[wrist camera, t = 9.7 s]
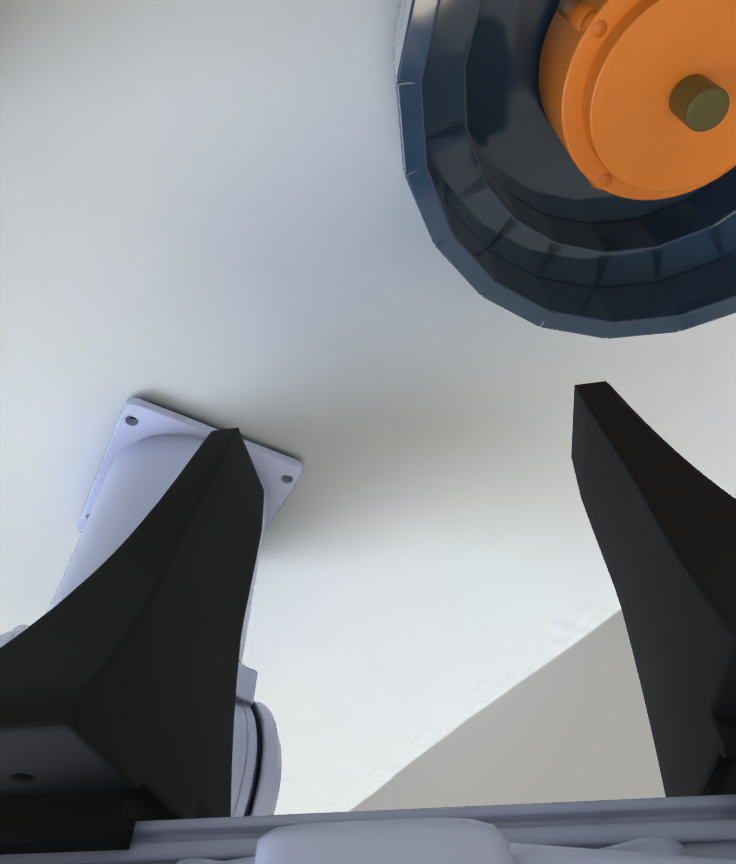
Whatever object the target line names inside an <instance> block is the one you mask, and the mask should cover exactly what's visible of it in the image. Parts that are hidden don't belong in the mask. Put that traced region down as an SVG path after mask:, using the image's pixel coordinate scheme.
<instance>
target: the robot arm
mask: <svg viewBox="0 0 736 864" xmlns="http://www.w3.org/2000/svg"><path fill="white" fill-rule="evenodd" d="M129 416H133V417H135V418H137V420H135V419H132V418H130V417H129ZM571 456H572V461H573V465H574V470H575V474H576V478H577V482H578V487H579V491H580V495H581V499H582V501H583V504H584V507H585V510H586V512H587V515H588V518H589V520H590V523H591V526H592V529H593V531H594V534H595V537H596V539H597V542H598V544H599V547H600V550H601V552H602V555H603V558H604V560H605V563H606V566H607V568H608V571H609V574H610V576H611V579H612V582H613V584H614V587H615V590H616V593H617V596H618V599H619V602H620V605H621V608H622V612H623V616H624V620H625V623H626V627H627V631H628V635H629V639H630V643H631V646H632V650H633V654H634V658H635V662H636V667H637V671H638V674H639V679H640V683H641V687H642V691H643V695H644V699H645V704H646V708H647V713H648V717H649V721H650V726H651V730H652V735H653V739H654V743H655V748H656V752H657V757H658V762H659V767H660V771H661V776H662V780H663V785H664V790H665V795H666V797H665V798H644V799H621V800H600V801H599V800H598V801H576V802H554V803H533V804H512V805H511V804H510V805H489V806H488V805H487V806H467V807H466V806H465V807H443V808H421V809H398V810H376V811H355V812H332V813H310V814H287V815H274V811H275V807H276V803H277V798H278V793H279V787H280V779H281V747H280V741H279V738H278V733H277V728H276V723H275V721H274V718H273V715H272V713H271V712H270V710H269V709H268V708H267V707H266V706H265V705H263V704H262V703H260V702H256V701H253V700H254V693H255V686H256V679H257V671H255V670H253V669H251V668H248V667H246V666H245V665H243V664H241V663H242V657H243V651H244V645H245V639H246V633H247V627H248V621H249V616H250V610H251V604H252V598H253V592H254V586H255V580H256V574H257V568H258V562H259V556H260V550H261V544H262V538H263V532H264V529H265V528H266V526H267V525H268V523H269V522H270V521H271V519H272V518H273V516H274V515H275V513H276V512H277V510H278V509H279V508H280V506H281V505H282V503H283V502H284V500H285V499H286V497H287V496H288V495H289V493H290V492H291V490H292V489H293V487H294V486H295V485H296V483H297V482H298V480H299V479H300V477H301V476H302V473H303V465H302V463H301V462H300V461H298V460H296V459H293V458H291V457H288V456H286V455H283V454H280V453H278V452H275V451H273V450H270V449H268V448H265V447H262V446H260V445H257V444H255V443H252V442H249V441H247V440H244V439H243V438H242V436H241V433H240V431H239V429H238V428H230V429H222V430H219V429H216V428H213V427H211V426H208V425H206V424H203V423H201V422H198V421H195V420H193V419H190V418H188V417H185V416H183V415H180V414H177V413H175V412H172V411H170V410H167V409H165V408H162V407H159V406H157V405H154V404H152V403H149V402H147V401H144V400H141V399H138V398H131V399H129V400H127V401H126V403H125V405H124V407H123V410H122V412H121V415H120V417H119V420H118V422H117V425H116V428H115V430H114V433H113V435H112V438H111V440H110V443H109V446H108V448H107V451H106V453H105V456H104V458H103V461H102V464H101V466H100V469H99V471H98V474H97V476H96V479H95V481H94V484H93V487H92V489H91V492H90V494H89V497H88V499H87V502H86V505H85V507H84V510H83V512H82V515H81V517H80V520H79V523H78V525H77V528H78V530H79V531H80V532H81V535H80V538H79V540H78V542H77V545H76V547H75V549H74V552H73V554H72V556H71V558H70V561H69V563H68V565H67V568H66V570H65V572H64V574H63V577H62V579H61V581H60V584H59V586H58V588H57V590H56V593H55V595H54V597H53V600H52V602H51V604H50V607H49V609H48V611H47V613H46V614H45V615H44V616H42V617H41V618H40V619H38V620H37V621H36V622H35V623H33V624H32V625H31V626H27V625H19V626H17V627H15V628H14V629H13V631H12V632H11V631H9V632H7V633H4V634H2V635H0V864H736V499H735V498H734V497H732V496H731V495H729V494H728V493H727V492H725V491H724V490H723V489H721V488H720V487H719V486H717V485H716V484H715V483H713V482H712V481H711V480H710V479H708V478H707V477H706V476H705V475H703V474H702V473H701V472H700V471H699V470H697V469H696V468H695V467H694V466H692V465H691V464H690V463H689V462H688V461H687V460H685V459H684V458H683V457H682V456H681V455H680V454H679V453H677V452H676V451H675V450H674V449H673V448H672V447H671V446H670V445H669V444H668V443H667V442H666V441H664V440H663V439H662V438H661V437H660V436H659V435H658V434H657V433H656V432H655V431H654V430H653V429H652V428H651V427H650V426H649V425H648V424H647V423H646V422H645V421H644V420H643V419H642V418H641V417H640V416H639V415H638V414H637V413H636V412H635V411H634V410H633V409H632V408H631V407H630V406H629V405H628V404H627V403H626V402H625V401H624V400H623V398H622V397H621V396H620V395H619V394H618V393H617V392H616V391H615V390H614V389H613V387H612V386H611V385H610V384H608V383H607V382H606V381H604V382H596V383H588V384H580V385H575V389H574V411H573V433H572V455H571ZM284 475H289V476H291V477H285V476H284Z"/></svg>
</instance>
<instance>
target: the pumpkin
mask: <svg viewBox="0 0 736 864" xmlns="http://www.w3.org/2000/svg"><path fill="white" fill-rule="evenodd" d="M539 92H540V97H541V103H542V106H543V109H544V112H545V115H546V117H547V119H548V121H549V123H550V125H551V127H552V129H553V130H554V132H555V133H556V135H557V136H558V138H559V140H560V141H561V143H562V144H563V146H564V147H565V149H566V151H567V152H568V154H569V155H570V157H571V158H572V160H573V161H574V163H575V164H576V166H577V167H578V169H579V170H580V171H581V173H582V174H583V175H584V176H585V177H586V178H587V180H588V181H589V183H590V184H591V186H592V187H594V188H595V189H598V190H604V191H606V192H608V193H611V194H613V195H616V196H619V197H623V198H628V199H633V200H657V199H665V198H670V197H675V196H679V195H682V194H685V193H688V192H691V191H693V190H695V189H698V188H700V187H702V186H705V185H706V184H708V183H710V182H712V181H714V180H715V179H717V178H719V177H720V176H722V175H723V174H725V173H726V172H728V171H729V170H730V169H732V168H733V167H734V166H736V0H560V2H559V4H558V9H557V11H556V13H555V14H554V16H553V19H552V21H551V23H550V26H549V28H548V30H547V33H546V37H545V40H544V43H543V46H542V51H541V57H540V63H539Z"/></svg>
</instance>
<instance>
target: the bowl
mask: <svg viewBox="0 0 736 864" xmlns="http://www.w3.org/2000/svg"><path fill="white" fill-rule="evenodd" d="M559 2H560V0H401V3H400V9H399V14H398V19H397V24H396V30H395V35H394V40H393V44H394V46H393V53H394V66H395V78H396V90H397V102H398V114H399V125H400V137H401V148H402V160H403V171H404V172H405V178H406V180H407V182H408V185H409V187H410V189H411V192H412V194H413V197H414V199H415V201H416V204H417V206H418V208H419V211H420V213H421V215H422V218H423V220H424V222H425V225H426V227H427V229H428V232H429V234H430V237H431V239H432V241H433V243H434V244H435V246H436V248H437V249H438V250H439V251H440V252H441V253H442V254H443V255H444V256H445V257H446V258H447V260H448V261H449V262H450V263H451V264H452V265H453V266H454V267H455V268H456V269H457V270H458V272H459V273H460V274H461V275H462V276H463V277H464V278H465V279H466V280H467V281H468V282H469V283H470V285H471V286H472V287H473V288H474V289H475V290H476V291H477V292H478V293H479V294H480V295H482V297H484V298H486V299H488V300H490V301H491V302H493V303H495V304H497V305H499V306H501V307H503V308H505V309H507V310H508V311H510V312H512V313H514V314H516V315H518V316H520V317H522V318H524V319H526V320H527V321H529V322H531V323H533V324H535V325H537V326H541V327H543V328H549V329H554V330H560V331H566V332H571V333H577V334H583V335H588V336H594V337H600V338H606V337H607V338H619V337H630V336H641V335H651V334H662V333H672V332H678V331H683V330H686V329H689V328H692V327H695V326H698V325H701V324H704V323H707V322H710V321H713V320H716V319H719V318H721V317H724V316H727V315H730V314H733V313H736V166H734V167H733V168H732V169H730V170H729V171H728V172H726V173H725V174H723V175H722V176H720V177H719V178H717V179H715V180H714V181H712V182H710V183H708V184H706V185H705V186H702V187H700V188H698V189H695V190H693V191H691V192H688V193H685V194H682V195H679V196H675V197H670V198H665V199H657V200H633V199H628V198H623V197H619V196H616V195H613V194H611V193H608V192H606V191H604V190H598V189H595V188H594V187H592V186H591V184H590V183H589V181H588V180H587V178H586V177H585V176H584V175H583V174H582V173H581V171H580V170H579V169H578V167H577V166H576V164H575V163H574V161H573V160H572V158H571V157H570V155H569V154H568V152H567V151H566V149H565V147H564V146H563V144H562V143H561V141H560V140H559V138H558V136H557V135H556V133H555V132H554V130H553V129H552V127H551V125H550V123H549V121H548V119H547V117H546V115H545V112H544V109H543V106H542V103H541V97H540V92H539V63H540V57H541V51H542V46H543V43H544V40H545V37H546V33H547V30H548V28H549V26H550V23H551V21H552V19H553V16H554V14H555V13H556V11H557V9H558V4H559Z"/></svg>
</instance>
